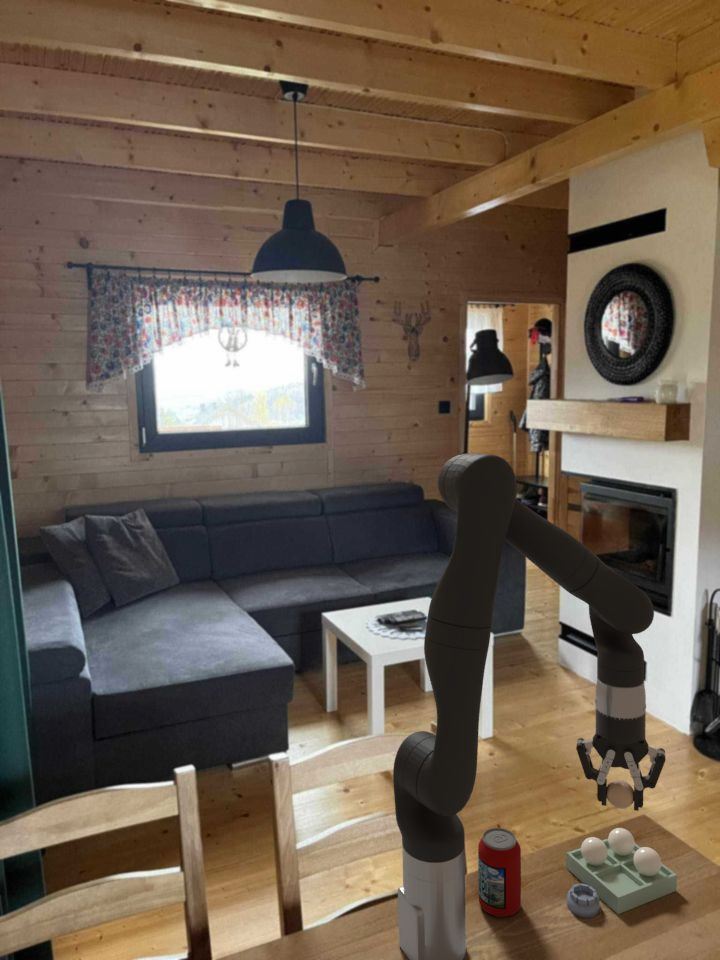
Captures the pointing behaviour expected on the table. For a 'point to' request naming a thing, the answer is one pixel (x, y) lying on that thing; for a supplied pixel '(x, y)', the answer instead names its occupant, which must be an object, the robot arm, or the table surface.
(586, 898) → the egg cup
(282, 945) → the table surface
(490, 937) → the table surface
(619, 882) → the egg carton
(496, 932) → the table surface
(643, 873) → the white egg
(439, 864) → the robot arm
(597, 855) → the white egg
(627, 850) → the white egg
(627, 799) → the brown egg
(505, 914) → the beverage can
